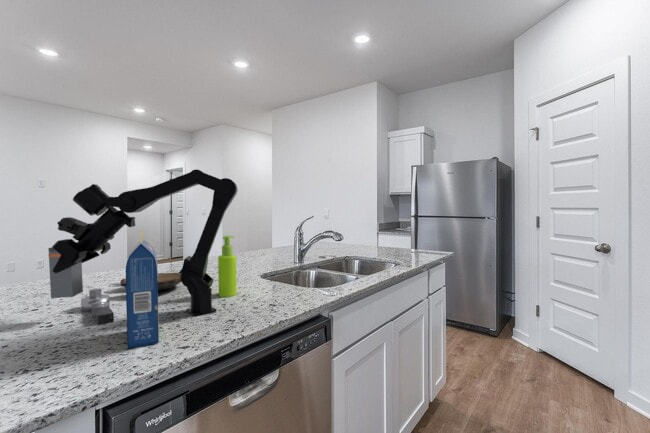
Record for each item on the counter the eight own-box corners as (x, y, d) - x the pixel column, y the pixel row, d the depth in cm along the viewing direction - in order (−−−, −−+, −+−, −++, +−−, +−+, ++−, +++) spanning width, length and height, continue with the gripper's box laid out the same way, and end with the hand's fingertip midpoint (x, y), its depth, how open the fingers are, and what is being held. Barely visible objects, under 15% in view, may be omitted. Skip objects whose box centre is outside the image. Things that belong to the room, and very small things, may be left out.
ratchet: (121, 320, 88) (121, 299, 88) (89, 326, 84) (89, 305, 83) (107, 302, 104) (107, 285, 104) (79, 307, 99) (79, 289, 99)
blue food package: (159, 325, 84) (157, 227, 83) (159, 343, 74) (157, 230, 73) (130, 330, 81) (128, 228, 80) (126, 349, 71) (123, 232, 70)
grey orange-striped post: (83, 291, 92) (81, 244, 91) (72, 296, 87) (70, 247, 86) (62, 292, 91) (59, 245, 90) (50, 298, 86) (48, 248, 85)
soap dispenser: (240, 291, 117) (239, 235, 116) (232, 297, 110) (232, 237, 109) (224, 291, 118) (223, 235, 117) (215, 296, 111) (214, 236, 110)
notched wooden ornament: (116, 303, 104) (116, 279, 104) (123, 283, 130) (122, 263, 130) (193, 294, 114) (192, 272, 114) (184, 277, 141) (184, 259, 141)
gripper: (97, 206, 98) (56, 245, 96) (60, 207, 79) (8, 254, 78) (127, 232, 99) (87, 271, 98) (98, 239, 81) (48, 286, 79)
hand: (60, 270), depth 88 cm, fingers closed on grey orange-striped post, 5 cm apart
